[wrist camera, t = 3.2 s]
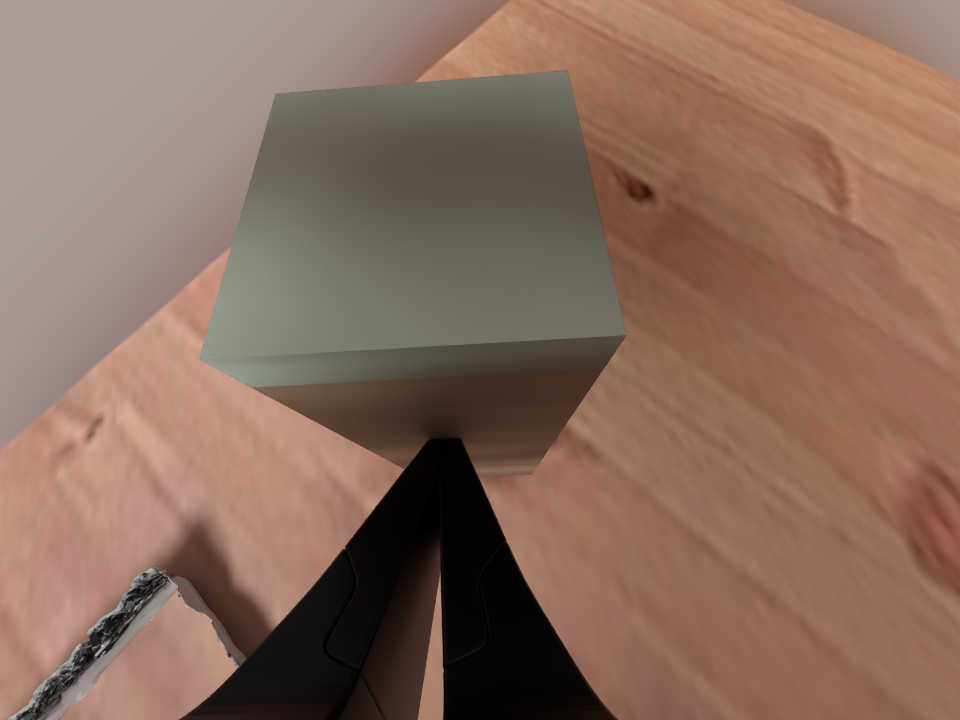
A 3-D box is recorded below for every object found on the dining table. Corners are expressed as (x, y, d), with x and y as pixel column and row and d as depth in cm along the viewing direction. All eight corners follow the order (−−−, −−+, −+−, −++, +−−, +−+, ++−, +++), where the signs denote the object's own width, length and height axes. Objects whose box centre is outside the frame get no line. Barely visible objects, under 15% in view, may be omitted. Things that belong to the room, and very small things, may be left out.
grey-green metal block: (531, 474, 17) (626, 335, 4) (424, 479, 17) (199, 359, 4) (522, 373, 19) (567, 70, 6) (426, 378, 19) (275, 93, 6)
